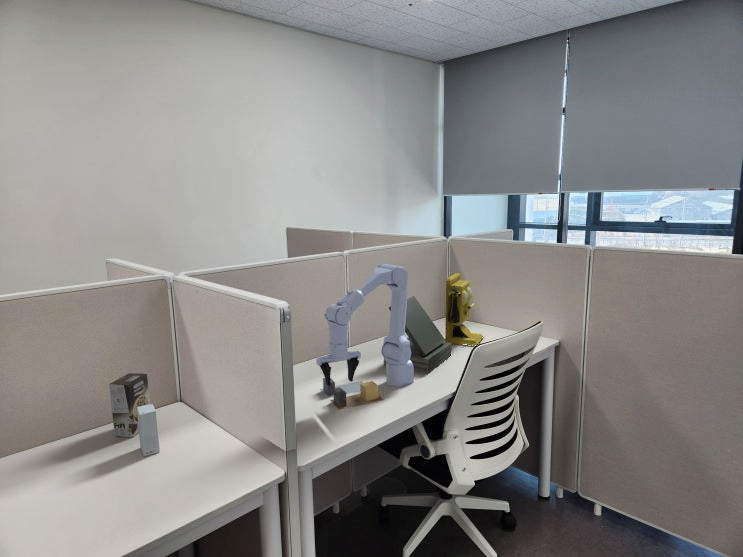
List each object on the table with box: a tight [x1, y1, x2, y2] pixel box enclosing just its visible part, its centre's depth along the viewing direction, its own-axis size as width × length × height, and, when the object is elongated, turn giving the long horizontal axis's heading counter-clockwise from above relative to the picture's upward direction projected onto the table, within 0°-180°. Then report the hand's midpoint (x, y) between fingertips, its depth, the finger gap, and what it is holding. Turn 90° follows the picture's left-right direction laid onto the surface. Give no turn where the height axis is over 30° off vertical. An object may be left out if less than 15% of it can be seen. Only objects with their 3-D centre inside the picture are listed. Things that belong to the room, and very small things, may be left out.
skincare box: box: [137, 403, 161, 457], centre depth 133 cm, size 6×4×12 cm
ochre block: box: [359, 380, 379, 401], centre depth 163 cm, size 4×4×4 cm
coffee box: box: [108, 372, 151, 438], centre depth 144 cm, size 9×6×16 cm
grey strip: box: [319, 377, 364, 399], centre depth 170 cm, size 16×8×5 cm, turn 116°
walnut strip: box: [330, 387, 385, 411], centre depth 161 cm, size 16×8×5 cm, turn 116°
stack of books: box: [382, 295, 452, 375], centre depth 198 cm, size 23×20×25 cm
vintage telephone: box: [444, 272, 484, 348], centre depth 222 cm, size 31×14×30 cm, turn 155°
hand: (339, 382), depth 157 cm, fingers open, 7 cm apart
